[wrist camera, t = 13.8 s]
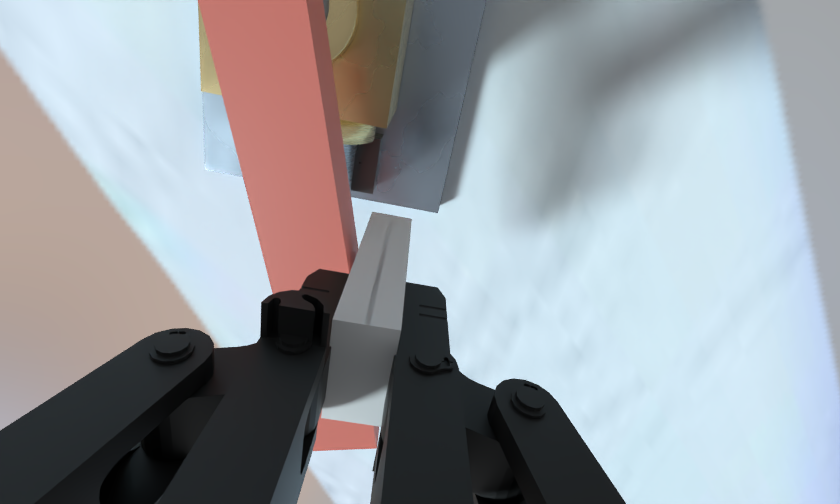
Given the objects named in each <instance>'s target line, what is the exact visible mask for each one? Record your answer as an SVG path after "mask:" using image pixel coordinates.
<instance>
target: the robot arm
mask: <svg viewBox="0 0 840 504" xmlns="http://www.w3.org/2000/svg"><path fill="white" fill-rule="evenodd" d="M411 221H412V219H409V218H404V217H398V216H393V215H387V214H382V213H376V212H372V214H371V217H370V220H369V222H368V225H367V228H366V231H365V233H364V236H363V239H362V241H361V244H360V247H359V249H358V252H357V255H356V257H355V260H354V263H353V266H352V268H351V271H350V274H348V273H342V272H336V271H330V270H325V269H318V270H316V271H315V272H313V273H311V274H310V275H308V276H307V277H306V279H305V281H304V283H303V284H302V286H301V288H300V290H288V291H281V292H278V293H275V294H272V295H270V296H268V297H267V298H266V299H265V300H264V301H262V302H261V337H260V339H259V340H258V342H257V343H255V344H251V345H248V346H240V347H228V348H214V343H213V341H212V340H211V338H210V336H209V335H207V334H205V333H203V332H202V331H199V330H194V329H189V328H180V329H169V330H165V331H161V332H157V333H154V334H152V335H151V336H148V337H146V338H144V339H142V340H141V341H139V342H137V343H136V344H134V345H133V346H132V347H130V348H128V349H127V350H125V351H124V352H122V353H120V354H119V355H117V356H116V357H114V358H113V359H111V360H110V361H108V362H106V363H105V364H103V365H102V366H100V367H99V368H97V369H95V370H94V371H92V372H91V373H89V374H88V375H86V376H85V377H83V378H81V379H80V380H78V381H77V382H75V383H74V384H72V385H71V386H69V387H68V388H66V389H64V390H63V391H61V392H60V393H58V394H57V395H55V396H53V397H52V398H50V399H49V400H47V401H46V402H44V403H43V404H41V405H39V406H38V407H36V408H35V409H33V410H32V411H30V412H29V413H27V414H25V415H24V416H22V417H21V418H19V419H18V420H16V421H15V422H13V423H11V424H10V425H8V426H7V427H5V428H4V429H2V430H1V431H0V504H297V500H298V497H299V494H300V491H301V487H302V484H303V481H304V477H305V474H306V471H307V467H308V464H309V461H310V457H311V454H312V451H313V447H314V444H315V441H316V434H317V425H318V420H319V417H320V414H321V410H322V414H321V418H325V419H331V420H338V421H345V422H352V423H359V424H366V425H372V426H379V427H381V432H380V437H379V442H378V446H377V451H376V456H375V461H374V466H373V471H374V478H373V486H372V494H371V502H370V504H626V503H625V501H624V500H623V498H622V497H621V495H620V494H619V492H618V491H617V489H616V488H615V487H614V485H613V484H612V482H611V481H610V479H609V478H608V476H607V475H606V473H605V472H604V470H603V469H602V467H601V466H600V464H599V463H598V461H597V460H596V458H595V457H594V455H593V454H592V452H591V451H590V449H589V448H588V446H587V445H586V443H585V442H584V441H583V439H582V438H581V436H580V435H579V433H578V432H577V430H576V429H575V427H574V426H573V424H572V423H571V421H570V420H569V418H568V417H567V415H566V414H565V412H564V411H563V409H562V408H561V406H560V405H559V403H558V402H557V401H556V400H555V399H554V398H553V396H552V395H551V394H550V393H549V392H547V391H546V390H545V389H543V388H542V387H540V386H539V385H537V384H534V383H532V382H529V381H526V380H521V379H509V380H504V381H502V382H501V383H500V384H499V385H497V387H496V389H495V390H494V389H491V388H489V387H486V386H484V385H481V384H479V383H477V382H475V381H473V380H471V379H469V378H468V377H466V376H465V375H463V374H462V373H461V372H460V371H459V368H458V365H457V362H456V360H455V359H454V358H453V356H452V355H451V354H450V346H449V334H448V322H447V311H446V299H445V297H444V296H443V294H442V293H441V291H440V290H439V289H438V288H437V287H431V286H425V285H420V284H414V283H408V282H406V274H407V264H408V253H409V242H410V232H411Z"/></svg>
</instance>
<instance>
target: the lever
mask: <svg viewBox="0 0 840 504" xmlns="http://www.w3.org/2000/svg"><path fill="white" fill-rule="evenodd" d="M198 3H199V7H200V11H201V15H202V19H203V23H204V27H205V30H206V34H207V38H208V42H209V46H210V50H211V54H212V58H213V62H214V66H215V70H216V73H217V77H218V81H219V85H220V89H221V93H222V97H223V101H224V105H225V109H226V113H227V117H228V120H229V124H230V128H231V132H232V136H233V140H234V144H235V148H236V152H237V156H238V160H239V163H240V167H241V171H242V175H243V179H244V183H245V187H246V191H247V195H248V199H249V203H250V206H251V210H252V214H253V218H254V222H255V226H256V230H257V234H258V238H259V242H260V246H261V250H262V253H263V257H264V261H265V265H266V269H267V273H268V277H269V281H270V285H271V289H272V293H273V294H275V293H278V292H281V291H288V290H300V288H301V286H302V284H303V283H304V281H305V279H306V277H307V276H308V275H310V274H311V273H313V272H315V271H316V270H318V269H325V270H330V271H336V272H342V273H348V274H350V271H351V268H352V266H353V263H354V260H355V257H356V255H357V252H358V243H357V236H356V229H355V222H354V215H353V208H352V201H351V194H350V187H349V180H348V173H347V166H346V159H345V152H344V145H343V138H342V131H341V124H340V117H339V110H338V103H337V96H336V89H335V82H334V75H333V68H332V61H331V54H330V47H329V40H328V33H327V26H326V20H327V17H328V12H329V0H198ZM321 414H322V410H321ZM321 414H320V417H319V420H318V425H317V434H316V441H315V444H314V447H313V451H324V450H347V449H371V448H377V441H378V433H379V426H372V425H366V424H359V423H352V422H345V421H338V420H331V419H325V418H321Z"/></svg>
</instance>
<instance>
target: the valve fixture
mask: <svg viewBox="0 0 840 504" xmlns="http://www.w3.org/2000/svg"><path fill="white" fill-rule="evenodd" d="M485 4H486V0H329V12H328V17H327V20H326V26H327V33H328V40H329V47H330V54H331V61H332V68H333V75H334V82H335V89H336V96H337V103H338V110H339V117H340V124H341V131H342V138H343V145H344V152H345V159H346V166H347V173H348V180H349V187H350V194H351V197H354V198H360V199H365V200H370V201H376V202H381V203H387V204H392V205H397V206H403V207H408V208H413V209H419V210H424V211H429V212H435V213H438V210H439V206H440V202H441V197H442V193H443V188H444V184H445V180H446V175H447V171H448V166H449V162H450V158H451V153H452V149H453V144H454V140H455V136H456V131H457V127H458V122H459V118H460V114H461V109H462V105H463V100H464V96H465V92H466V87H467V83H468V78H469V74H470V70H471V65H472V61H473V56H474V52H475V48H476V43H477V39H478V34H479V30H480V26H481V21H482V17H483V12H484V8H485ZM198 12H199V41H200V71H201V91H202V97H203V128H204V158H205V170H210V171H215V172H220V173H226V174H231V175H237V176H242V177H243V175H242V171H241V167H240V163H239V160H238V156H237V152H236V148H235V144H234V140H233V136H232V132H231V128H230V124H229V120H228V117H227V113H226V109H225V105H224V101H223V97H222V93H221V89H220V85H219V81H218V77H217V73H216V70H215V66H214V62H213V58H212V54H211V50H210V46H209V42H208V38H207V34H206V30H205V27H204V23H203V19H202V15H201V11H200V7H199V3H198Z"/></svg>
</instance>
